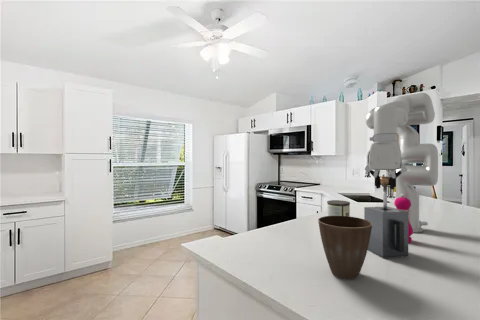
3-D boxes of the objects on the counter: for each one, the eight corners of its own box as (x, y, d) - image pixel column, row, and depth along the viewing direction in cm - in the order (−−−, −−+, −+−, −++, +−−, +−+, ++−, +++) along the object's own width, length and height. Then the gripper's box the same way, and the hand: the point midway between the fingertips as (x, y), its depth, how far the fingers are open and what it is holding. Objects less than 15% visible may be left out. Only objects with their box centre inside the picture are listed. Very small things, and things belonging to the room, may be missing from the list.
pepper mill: (416, 244, 101) (416, 195, 101) (396, 242, 102) (396, 194, 102) (408, 238, 108) (408, 192, 108) (390, 237, 109) (389, 192, 109)
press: (387, 246, 97) (387, 206, 98) (415, 259, 85) (414, 213, 85) (364, 248, 96) (364, 207, 96) (388, 261, 83) (388, 214, 83)
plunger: (386, 220, 96) (386, 176, 96) (401, 225, 89) (401, 177, 89) (370, 221, 95) (370, 176, 95) (383, 226, 88) (383, 177, 88)
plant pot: (345, 291, 65) (345, 230, 65) (308, 268, 78) (308, 217, 78) (384, 280, 71) (384, 224, 71) (343, 260, 84) (343, 213, 84)
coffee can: (329, 226, 127) (329, 199, 127) (351, 229, 122) (351, 201, 122) (324, 231, 119) (324, 202, 119) (348, 235, 113) (348, 204, 113)
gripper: (358, 140, 95) (358, 187, 95) (410, 137, 83) (410, 191, 83) (364, 141, 100) (364, 186, 100) (414, 138, 89) (414, 189, 89)
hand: (385, 188), depth 92 cm, fingers closed on plunger, 4 cm apart
